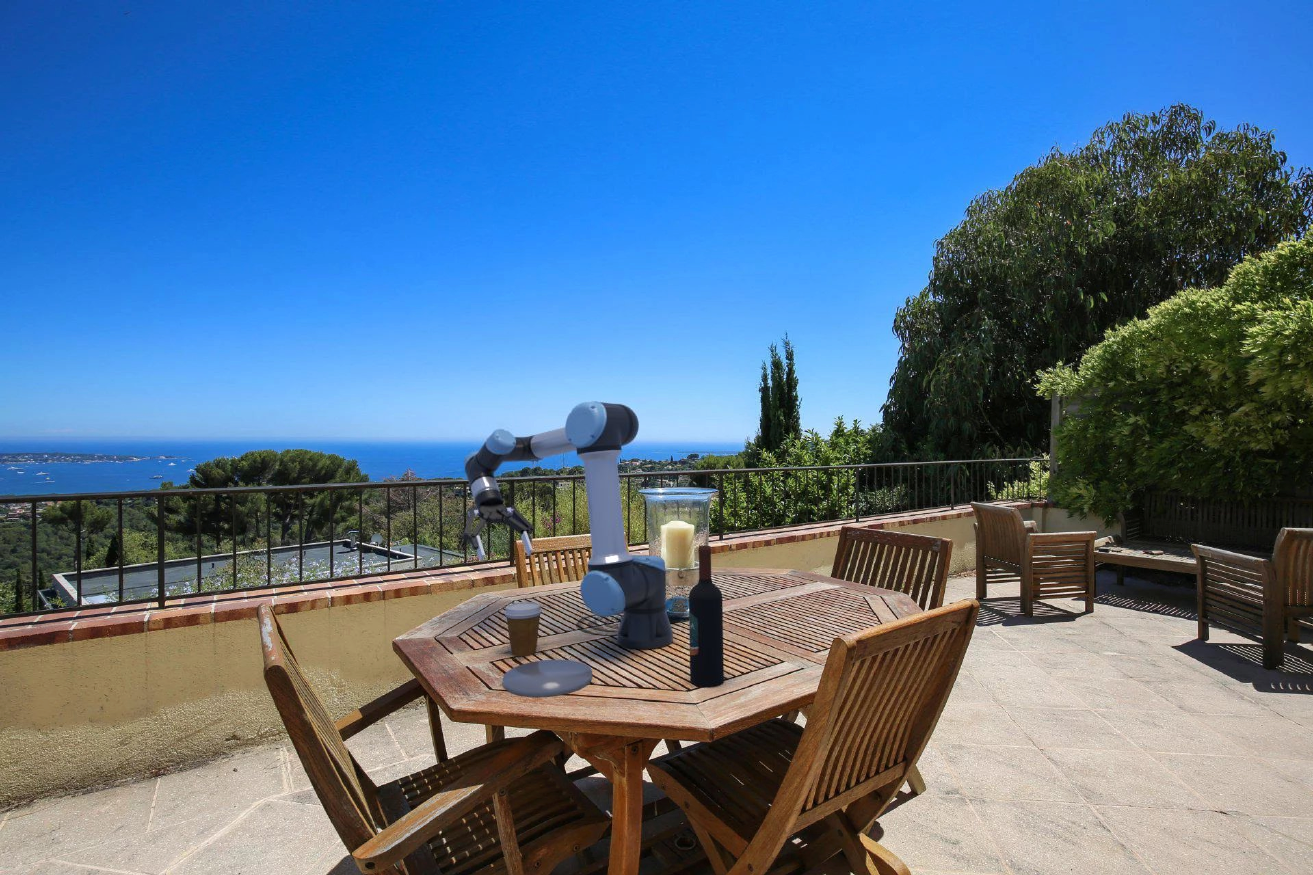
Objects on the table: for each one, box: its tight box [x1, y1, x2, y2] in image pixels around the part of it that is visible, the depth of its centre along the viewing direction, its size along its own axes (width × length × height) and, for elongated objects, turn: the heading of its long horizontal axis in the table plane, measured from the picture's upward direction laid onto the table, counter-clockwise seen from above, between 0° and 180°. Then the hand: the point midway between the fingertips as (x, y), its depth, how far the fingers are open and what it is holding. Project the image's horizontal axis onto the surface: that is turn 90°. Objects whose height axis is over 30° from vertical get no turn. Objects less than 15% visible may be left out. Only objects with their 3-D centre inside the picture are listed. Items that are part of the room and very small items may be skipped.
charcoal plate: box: [502, 658, 593, 698], centre depth 142 cm, size 20×20×1 cm
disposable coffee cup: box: [504, 601, 543, 657], centre depth 161 cm, size 10×10×12 cm
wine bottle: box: [688, 545, 725, 688], centre depth 140 cm, size 8×8×30 cm
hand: (507, 555), depth 169 cm, fingers open, 13 cm apart
